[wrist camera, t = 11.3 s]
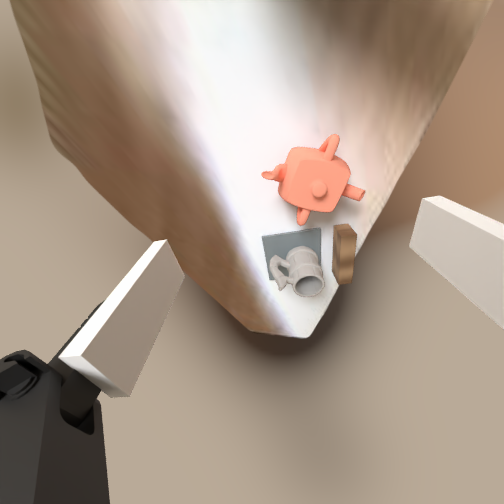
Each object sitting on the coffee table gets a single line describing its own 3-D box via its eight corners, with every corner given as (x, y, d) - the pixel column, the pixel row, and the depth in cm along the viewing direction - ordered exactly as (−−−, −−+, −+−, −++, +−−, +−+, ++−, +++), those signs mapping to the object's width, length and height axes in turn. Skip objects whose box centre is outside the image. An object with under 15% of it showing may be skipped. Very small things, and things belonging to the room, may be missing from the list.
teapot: (337, 122, 34) (362, 124, 26) (351, 186, 40) (375, 205, 32) (260, 161, 38) (260, 174, 30) (283, 215, 44) (289, 238, 36)
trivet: (261, 236, 47) (262, 237, 46) (319, 227, 45) (320, 228, 45) (269, 278, 54) (269, 280, 54) (320, 272, 52) (320, 274, 52)
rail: (333, 225, 45) (341, 236, 41) (347, 223, 45) (357, 234, 40) (332, 271, 52) (338, 284, 48) (344, 269, 52) (351, 283, 47)
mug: (310, 272, 52) (322, 310, 42) (264, 264, 51) (266, 301, 41) (321, 247, 48) (338, 282, 38) (272, 238, 47) (275, 272, 37)
